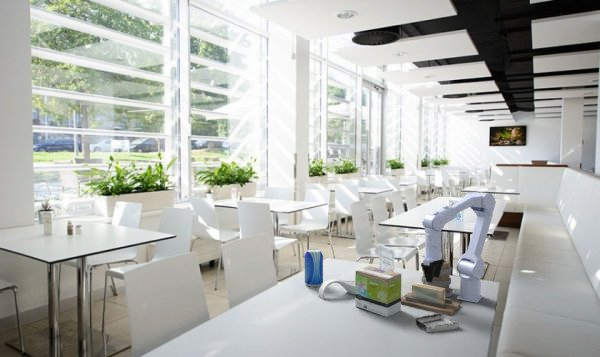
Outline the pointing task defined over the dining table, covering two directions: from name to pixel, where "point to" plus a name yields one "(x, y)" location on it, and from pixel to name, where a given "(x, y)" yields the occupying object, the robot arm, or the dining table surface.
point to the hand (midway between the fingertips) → (432, 279)
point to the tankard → (441, 278)
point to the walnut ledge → (430, 304)
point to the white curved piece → (347, 284)
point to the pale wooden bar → (428, 293)
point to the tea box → (378, 290)
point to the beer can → (313, 268)
